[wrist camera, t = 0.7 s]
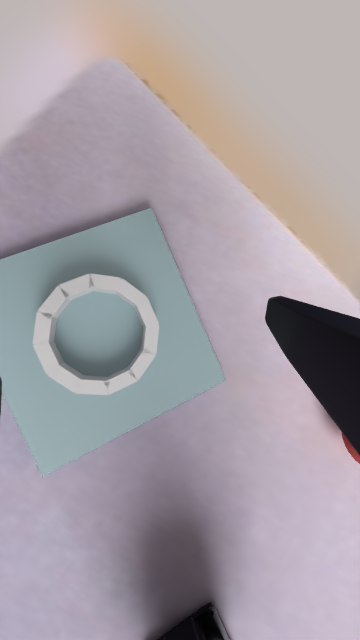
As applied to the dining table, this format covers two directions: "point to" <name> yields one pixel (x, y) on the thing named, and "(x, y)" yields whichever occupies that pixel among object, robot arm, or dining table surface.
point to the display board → (98, 338)
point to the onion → (351, 449)
